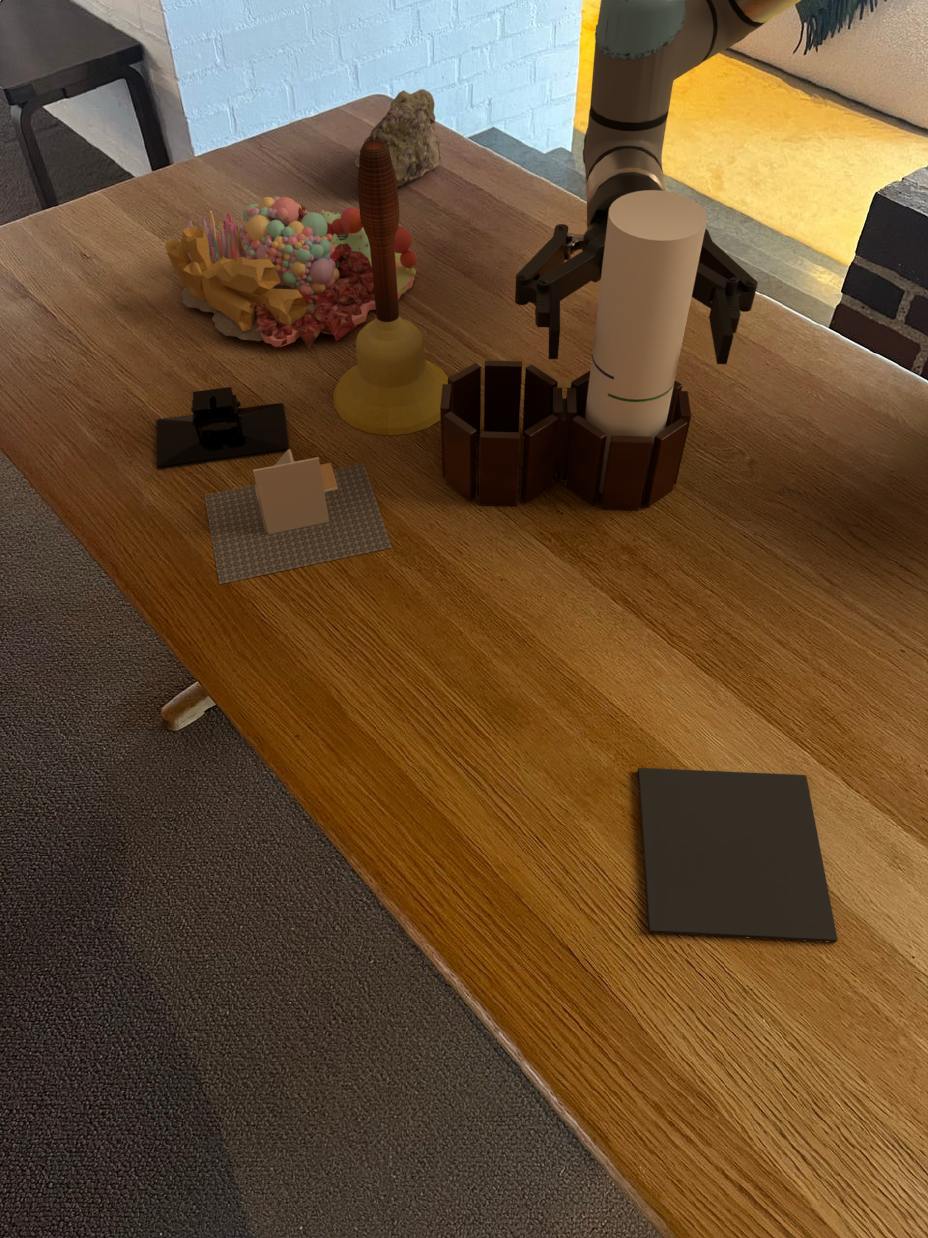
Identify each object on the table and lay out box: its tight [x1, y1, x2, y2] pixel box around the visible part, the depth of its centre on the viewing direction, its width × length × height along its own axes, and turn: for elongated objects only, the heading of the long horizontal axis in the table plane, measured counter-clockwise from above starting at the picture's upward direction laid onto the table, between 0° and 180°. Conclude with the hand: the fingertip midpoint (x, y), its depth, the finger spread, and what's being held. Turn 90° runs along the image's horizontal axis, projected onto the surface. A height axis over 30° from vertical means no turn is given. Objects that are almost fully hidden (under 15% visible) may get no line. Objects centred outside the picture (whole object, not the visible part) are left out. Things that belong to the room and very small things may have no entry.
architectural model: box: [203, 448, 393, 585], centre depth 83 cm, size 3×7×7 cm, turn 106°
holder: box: [440, 359, 692, 511], centre depth 87 cm, size 22×11×8 cm, turn 87°
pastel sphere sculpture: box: [164, 195, 418, 349], centre depth 105 cm, size 25×24×9 cm
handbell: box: [332, 140, 449, 437], centre depth 87 cm, size 12×12×25 cm
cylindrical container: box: [585, 190, 708, 494], centre depth 80 cm, size 7×7×25 cm
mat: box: [637, 767, 839, 943], centre depth 65 cm, size 12×12×1 cm
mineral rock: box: [355, 88, 442, 187], centre depth 121 cm, size 13×11×10 cm
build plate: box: [156, 386, 290, 470], centre depth 91 cm, size 12×7×5 cm, turn 101°
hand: (639, 347), depth 77 cm, fingers open, 13 cm apart
